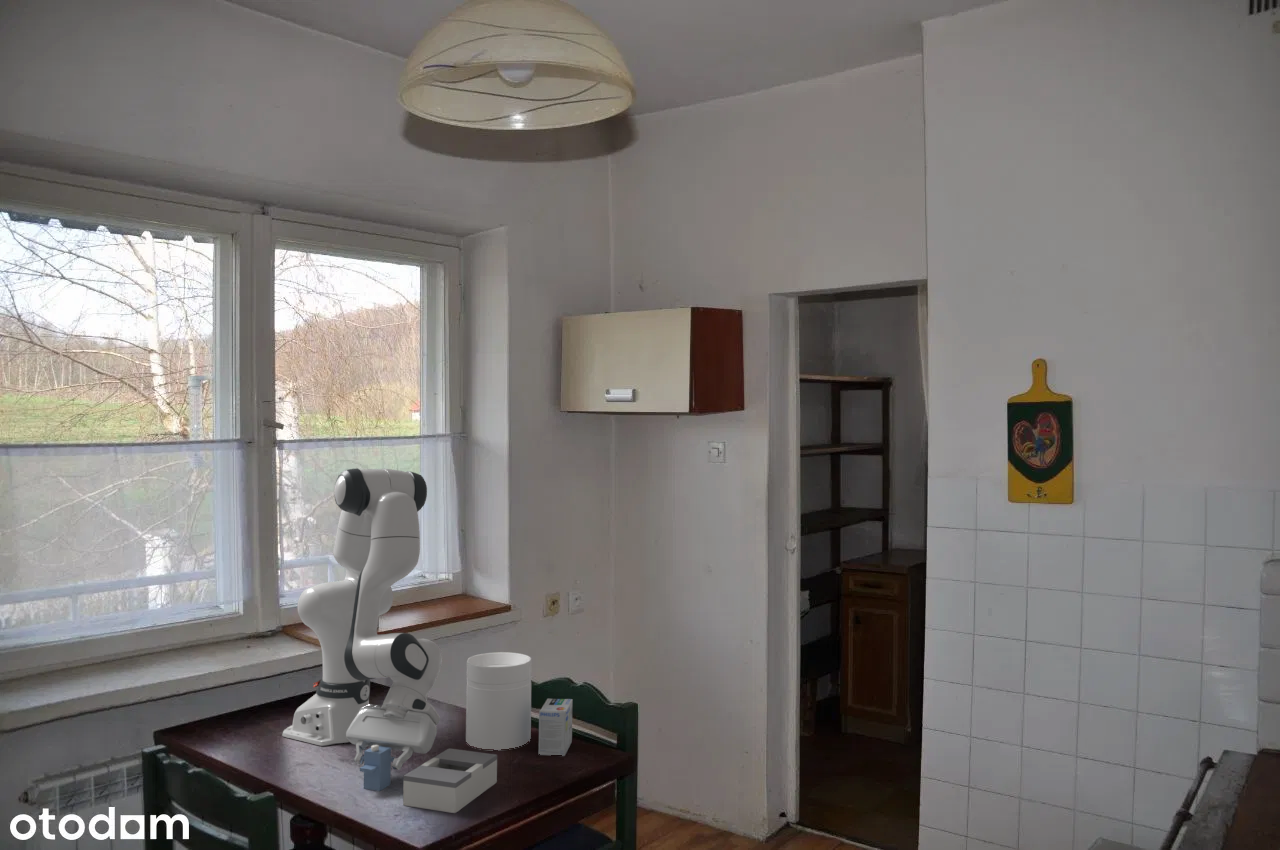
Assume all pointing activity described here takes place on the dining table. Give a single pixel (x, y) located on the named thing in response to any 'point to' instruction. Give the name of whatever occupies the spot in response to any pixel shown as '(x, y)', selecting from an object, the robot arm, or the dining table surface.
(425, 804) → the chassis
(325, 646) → the robot arm
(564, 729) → the light bulb box
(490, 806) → the dining table surface
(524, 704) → the canister
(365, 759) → the block
